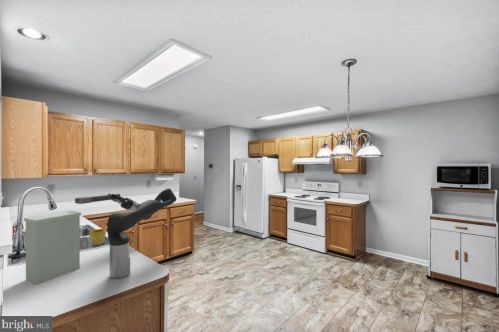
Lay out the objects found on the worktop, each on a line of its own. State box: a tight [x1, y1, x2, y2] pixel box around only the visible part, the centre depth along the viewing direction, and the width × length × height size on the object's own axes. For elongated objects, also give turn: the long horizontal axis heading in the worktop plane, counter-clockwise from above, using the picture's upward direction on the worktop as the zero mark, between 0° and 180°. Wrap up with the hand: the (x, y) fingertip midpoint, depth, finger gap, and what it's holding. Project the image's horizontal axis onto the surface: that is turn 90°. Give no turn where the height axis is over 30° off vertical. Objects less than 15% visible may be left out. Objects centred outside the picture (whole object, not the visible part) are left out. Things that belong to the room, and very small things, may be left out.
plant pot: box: [89, 228, 107, 246], centre depth 175 cm, size 10×10×10 cm
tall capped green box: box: [23, 210, 82, 286], centre depth 128 cm, size 21×11×32 cm, turn 155°
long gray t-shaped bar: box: [74, 193, 121, 205], centre depth 151 cm, size 26×6×3 cm, turn 154°
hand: (109, 195), depth 157 cm, fingers closed on long gray t-shaped bar, 3 cm apart
